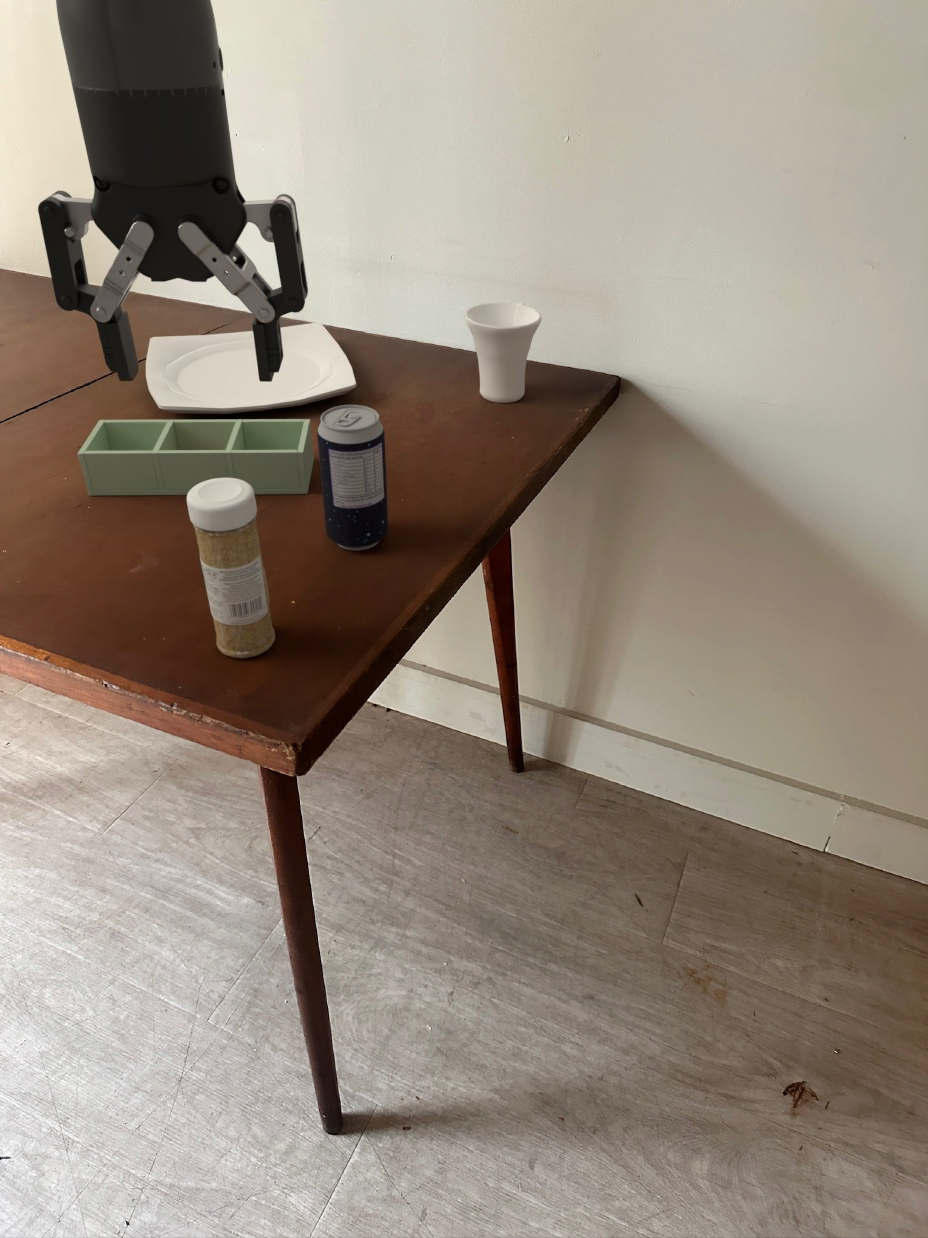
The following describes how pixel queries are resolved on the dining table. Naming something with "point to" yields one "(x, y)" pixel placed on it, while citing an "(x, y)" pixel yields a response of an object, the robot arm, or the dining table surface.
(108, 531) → the dining table surface
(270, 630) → the spice jar
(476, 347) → the cup
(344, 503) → the beverage can
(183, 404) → the plate
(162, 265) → the robot arm
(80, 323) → the dining table surface
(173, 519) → the dining table surface
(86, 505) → the dining table surface
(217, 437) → the tray
